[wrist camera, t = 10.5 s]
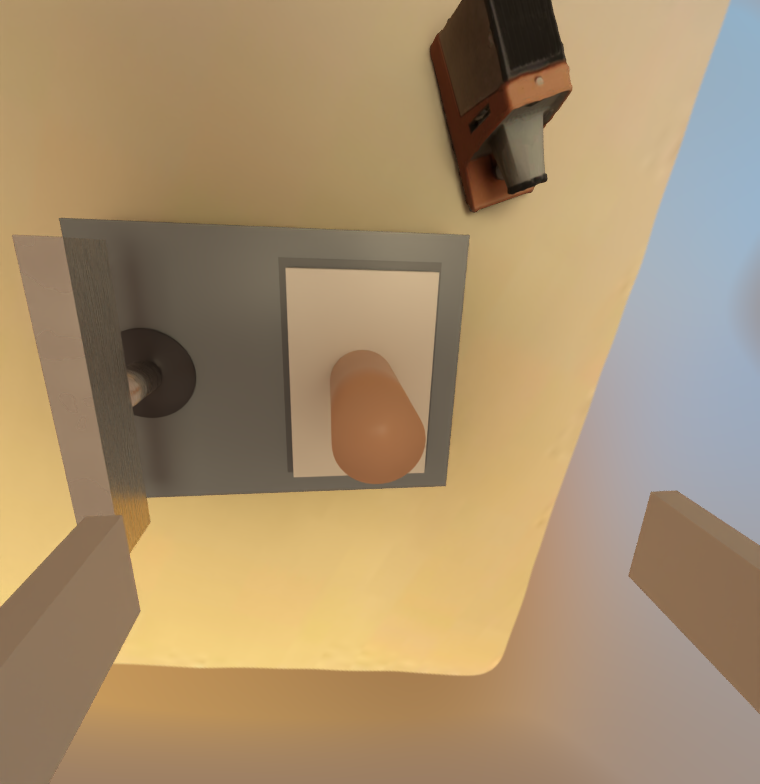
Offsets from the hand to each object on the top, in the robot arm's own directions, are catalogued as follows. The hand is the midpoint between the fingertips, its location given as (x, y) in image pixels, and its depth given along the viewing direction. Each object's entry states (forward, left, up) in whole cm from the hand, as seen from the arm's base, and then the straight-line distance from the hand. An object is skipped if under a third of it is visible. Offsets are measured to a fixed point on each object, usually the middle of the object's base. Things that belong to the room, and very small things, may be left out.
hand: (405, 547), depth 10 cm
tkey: (0, -12, -15) cm, 19 cm away
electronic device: (-15, +8, -21) cm, 27 cm away
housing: (0, -4, -20) cm, 21 cm away
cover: (0, 0, -15) cm, 15 cm away
